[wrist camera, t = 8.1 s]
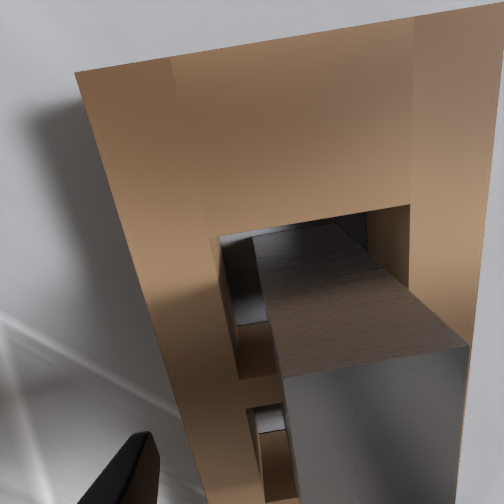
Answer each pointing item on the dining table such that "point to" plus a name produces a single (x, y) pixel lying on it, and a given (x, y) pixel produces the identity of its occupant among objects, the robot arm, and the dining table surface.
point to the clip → (360, 374)
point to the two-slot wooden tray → (295, 195)
